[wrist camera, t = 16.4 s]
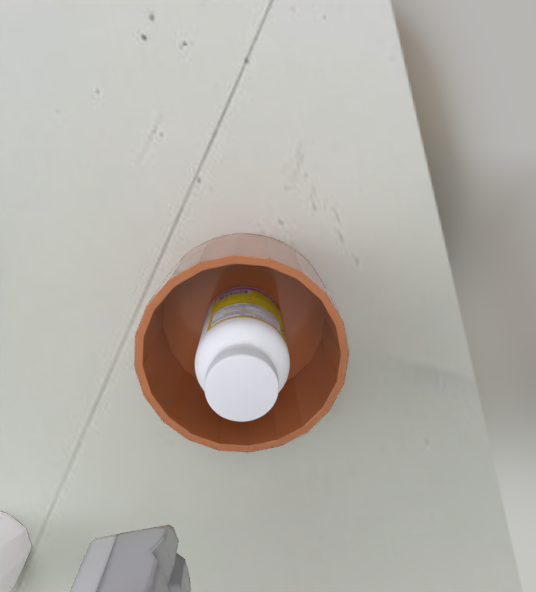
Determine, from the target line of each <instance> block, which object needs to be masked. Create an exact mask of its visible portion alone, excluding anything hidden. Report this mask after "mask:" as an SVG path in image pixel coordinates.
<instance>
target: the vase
mask: <svg viewBox="0 0 536 592" xmlns="http://www.w3.org/2000/svg"><path fill="white" fill-rule="evenodd" d="M31 548H32V546H31V543H30V540H29V536H28V533H27V530H26V528H25V527H24V526H23V525H21V524H20V523H19V522H18V521H16V520H15V519H14V518H13V517H12V516H10V515H9V514H8V513H4V512H0V592H10V591H11V590H12V588H13V586H14V585H15V583H16V581H17V579H18V577H19V575H20V573H21V571H22V569H23V567H24V564H25V562H26V560H27V557H28V555H29V553H30V551H31Z"/></svg>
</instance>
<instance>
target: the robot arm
mask: <svg viewBox="0 0 536 592" xmlns="http://www.w3.org/2000/svg"><path fill="white" fill-rule="evenodd" d="M178 542H179V540H178V538H177V535H176V532H175V530H174V527H172V526H170V525H166V526H160V527H154V528H149V529H143V530H137V531H131V532H125V533H121V534H116V535H111V536H105V537H99V538H95V539H94V540H93V541H92V542H91V543H90V545H89V547H88V549H87V552H86V554H85V556H84V559H83V561H82V564H81V566H80V568H79V571H78V573H77V576H76V578H75V580H74V583H73V585H72V587H71V590H70V592H191V587H190V577H189V572H188V567H187V564H186V561H185V559H184V558H183V557H181V556H180V555H179V554H177V547H178Z"/></svg>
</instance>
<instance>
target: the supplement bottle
mask: <svg viewBox="0 0 536 592" xmlns="http://www.w3.org/2000/svg"><path fill="white" fill-rule="evenodd" d="M289 370H290V358H289V351H288V346H287V341H286V336H285V331H284V326H283V320H282V316H281V312H280V310H279V307H278V305H277V304H276V302H275V301H274V300H273V299H272V298H271V297H270V296H269V295H268V294H267V293H265V292H264V291H262V290H259V289H257V288H254V287H247V286H240V287H234V288H231V289H228V290H226V291H224V292H223V293H221V294H220V295H219V296H217V297H216V298H215V299H214V301H213V302H212V303H211V305H210V307H209V309H208V311H207V315H206V318H205V322H204V326H203V330H202V333H201V337H200V341H199V345H198V348H197V351H196V355H195V373H196V377H197V379H198V382H199V384H200V386H201V387H202V389H203V390H204V392H205V397H206V399H207V402H208V404H209V405H210V407H211V408H212V409H213V410H214V411H215V412H216V413H217V414H218V415H220V416H222V417H223V418H226V419H228V420H232V421H238V422H245V421H251V420H255V419H257V418H259V417H261V416H263V415H265V414H266V413H267V412H268V411H269V410H270V409H271V408H272V407H273V405H274V404H275V402H276V400H277V397H278V393H279V392H280V391H281V389H282V388H283V386H284V384H285V383H286V380H287V378H288V375H289Z"/></svg>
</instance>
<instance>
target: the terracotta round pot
mask: <svg viewBox="0 0 536 592" xmlns="http://www.w3.org/2000/svg"><path fill="white" fill-rule="evenodd" d="M240 286H247V287H254V288H257V289H259V290H262V291H264V292H265V293H267V294H268V295H269V296H270V297H271V298H272V299H273V300H274V301H275V302H276V304H277V305H278V307H279V310H280V312H281V316H282V320H283V326H284V331H285V336H286V341H287V346H288V351H289V358H290V370H289V375H288V378H287V380H286V383H285V384H284V386H283V388H282V389H281V391H280V392H279V393H278V397H277V400H276V402H275V404H274V405H273V407H272V408H271V409H270V410H269V411H268V412H267V413H266V414H265V415H263V416H261V417H259V418H257V419H255V420H251V421H245V422H238V421H232V420H228V419H226V418H223V417H222V416H220V415H218V414H217V413H216V412H215V411H214V410H213V409H212V408H211V407H210V405H209V404H208V402H207V399H206V397H205V392H204V390H203V389H202V387H201V386H200V384H199V382H198V379H197V377H196V373H195V355H196V351H197V348H198V345H199V341H200V337H201V333H202V330H203V326H204V322H205V318H206V315H207V311H208V309H209V307H210V305H211V303H212V302H213V301H214V299H215V298H216V297H217V296H219V295H220V294H221V293H223V292H224V291H226V290H228V289H231V288H234V287H240ZM348 357H349V350H348V344H347V339H346V333H345V327H344V323H343V320H342V318H341V317H340V315H339V313H338V311H337V309H336V307H335V305H334V303H333V301H332V299H331V297H330V295H329V293H328V291H327V290H326V288H325V286H324V284H323V282H322V281H321V279H320V277H319V275H318V274H317V272H316V270H315V268H314V267H313V266H312V265H311V264H310V263H309V262H308V261H307V260H306V259H305V258H304V257H303V256H302V255H301V254H300V253H298V252H297V251H296V250H294V249H293V248H292V247H290V246H288V245H286V244H284V243H283V242H280V241H278V240H275V239H273V238H270V237H266V236H262V235H255V234H232V235H225V236H221V237H218V238H214V239H212V240H209V241H207V242H205V243H202V244H201V245H199V246H197V247H196V248H194V249H193V250H191V251H190V252H189V253H187V254H186V255H184V257H183V258H182V259H181V260H180V261H179V262H178V263H177V264H176V266H175V267H174V268H173V269H172V271H171V272H170V273H169V274H168V275H167V277H166V278H165V280H164V281H163V283H162V284H161V285H160V287H159V288H158V290H157V291H156V293H155V294H154V296H153V297H152V299H151V300H150V302H149V303H148V305H147V306H146V309H145V312H144V314H143V317H142V319H141V322H140V324H139V327H138V330H137V332H136V336H135V365H134V366H135V370H136V373H137V376H138V379H139V382H140V385H141V388H142V391H143V395H144V396H145V398H146V399H147V401H148V402H149V403H150V405H151V406H152V407H153V409H154V410H155V411H156V413H157V414H158V416H159V417H160V418H161V420H162V421H163V422H165V423H166V424H167V425H169V426H170V427H171V428H173V429H174V430H176V431H177V432H178V433H180V434H181V435H182V436H184V437H185V438H187V439H188V440H191V441H194V442H196V443H199V444H202V445H205V446H207V447H210V448H213V449H216V450H221V451H235V452H254V451H258V450H263V449H268V448H273V447H278V446H281V445H283V444H285V443H287V442H289V441H291V440H293V439H295V438H297V437H299V436H301V435H303V434H305V433H307V431H309V430H310V429H311V428H312V427H313V426H314V425H315V424H316V423H317V422H318V421H319V420H320V419H321V418H322V417H323V416H325V415H326V414H327V413H328V412H329V410H330V409H331V407H332V405H333V403H334V401H335V400H336V398H337V396H338V394H339V392H340V390H341V388H342V387H343V385H344V381H345V375H346V369H347V363H348Z"/></svg>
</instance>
